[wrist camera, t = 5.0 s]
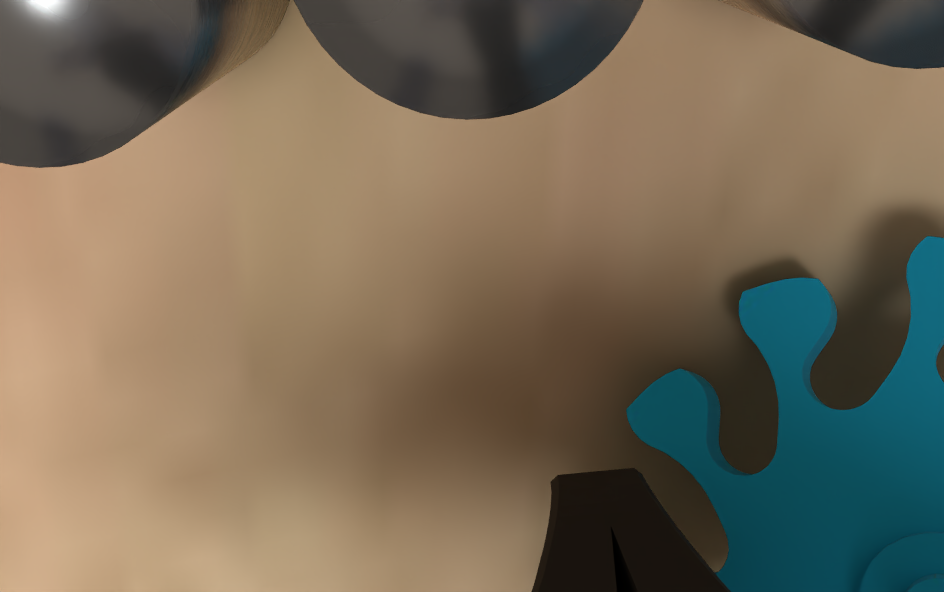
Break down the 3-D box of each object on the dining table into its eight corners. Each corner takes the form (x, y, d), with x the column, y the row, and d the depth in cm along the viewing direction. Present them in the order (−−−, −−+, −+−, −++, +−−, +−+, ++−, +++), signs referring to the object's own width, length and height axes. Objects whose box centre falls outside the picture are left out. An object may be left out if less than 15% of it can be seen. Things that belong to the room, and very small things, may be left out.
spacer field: (920, -288, 10) (1231, -422, 6) (812, 777, 18) (908, 1025, 14) (16, -166, 10) (-274, -210, 6) (319, 812, 19) (276, 1060, 15)
